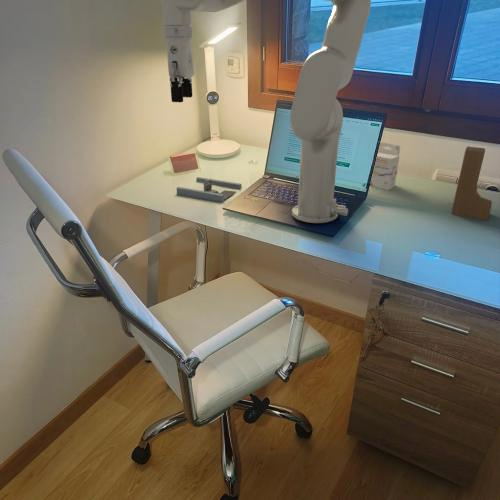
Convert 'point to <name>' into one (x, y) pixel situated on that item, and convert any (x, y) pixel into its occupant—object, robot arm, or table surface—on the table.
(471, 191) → the wooden block
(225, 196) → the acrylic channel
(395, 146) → the ink cartridge box
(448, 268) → the table surface
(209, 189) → the strap clip
